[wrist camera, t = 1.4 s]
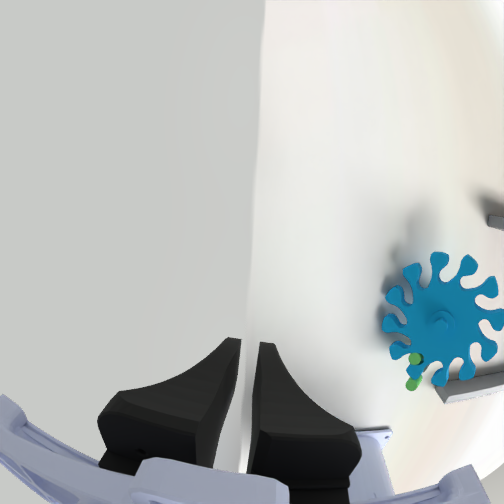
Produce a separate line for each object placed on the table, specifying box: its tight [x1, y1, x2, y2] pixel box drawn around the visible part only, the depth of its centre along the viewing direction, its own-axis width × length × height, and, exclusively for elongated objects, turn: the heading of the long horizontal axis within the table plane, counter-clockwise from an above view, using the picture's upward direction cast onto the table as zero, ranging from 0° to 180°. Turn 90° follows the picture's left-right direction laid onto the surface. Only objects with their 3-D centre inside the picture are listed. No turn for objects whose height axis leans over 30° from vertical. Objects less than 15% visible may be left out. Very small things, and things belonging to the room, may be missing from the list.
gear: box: [382, 252, 504, 391], centre depth 17 cm, size 11×6×10 cm
